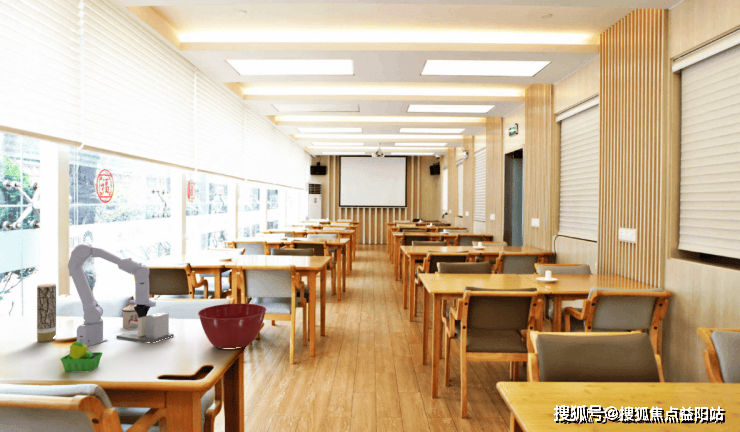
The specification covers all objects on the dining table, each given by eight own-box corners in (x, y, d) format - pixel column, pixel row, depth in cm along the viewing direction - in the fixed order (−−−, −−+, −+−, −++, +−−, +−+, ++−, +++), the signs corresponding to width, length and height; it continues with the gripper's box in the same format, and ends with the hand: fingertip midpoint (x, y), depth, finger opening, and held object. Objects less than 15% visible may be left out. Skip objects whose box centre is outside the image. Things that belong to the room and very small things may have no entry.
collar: (141, 336, 194) (141, 318, 194) (137, 335, 195) (137, 318, 195) (154, 332, 201) (154, 315, 200) (150, 331, 201) (150, 314, 201)
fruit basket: (103, 365, 161) (103, 335, 161) (89, 374, 153) (89, 342, 153) (72, 365, 161) (73, 335, 161) (56, 374, 152) (56, 342, 152)
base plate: (152, 343, 188) (152, 340, 188) (116, 338, 196) (116, 335, 196) (173, 336, 200) (173, 333, 200) (139, 331, 208) (139, 329, 208)
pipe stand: (154, 339, 191) (154, 317, 191) (123, 335, 197) (123, 313, 197) (168, 334, 198) (168, 313, 198) (138, 330, 205) (138, 309, 205)
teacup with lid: (128, 329, 212) (128, 305, 212) (118, 326, 217) (118, 303, 217) (151, 324, 222) (151, 301, 222) (141, 321, 227) (141, 299, 227)
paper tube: (45, 343, 189) (45, 286, 189) (33, 342, 190) (33, 285, 190) (59, 338, 195) (59, 284, 195) (47, 337, 197) (47, 283, 197)
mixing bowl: (278, 346, 186) (278, 310, 186) (213, 360, 167) (213, 321, 167) (249, 332, 207) (249, 300, 207) (188, 344, 188) (188, 309, 188)
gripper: (161, 291, 200) (161, 320, 200) (138, 289, 205) (138, 317, 205) (148, 294, 193) (148, 324, 193) (125, 291, 198) (125, 321, 198)
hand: (142, 321), depth 199 cm, fingers closed
